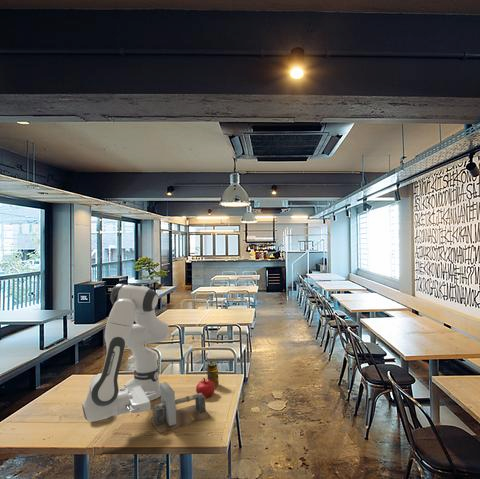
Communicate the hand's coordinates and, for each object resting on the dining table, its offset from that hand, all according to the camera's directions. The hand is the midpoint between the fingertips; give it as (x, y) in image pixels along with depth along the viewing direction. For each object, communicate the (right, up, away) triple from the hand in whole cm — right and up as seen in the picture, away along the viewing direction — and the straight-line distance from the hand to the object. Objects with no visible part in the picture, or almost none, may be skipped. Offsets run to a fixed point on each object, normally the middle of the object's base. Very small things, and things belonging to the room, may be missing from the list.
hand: (156, 394), depth 159 cm
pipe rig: (+10, -13, +5) cm, 18 cm away
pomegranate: (+20, -13, +28) cm, 37 cm away
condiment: (+22, -13, +39) cm, 47 cm away
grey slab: (+5, -12, +2) cm, 13 cm away
